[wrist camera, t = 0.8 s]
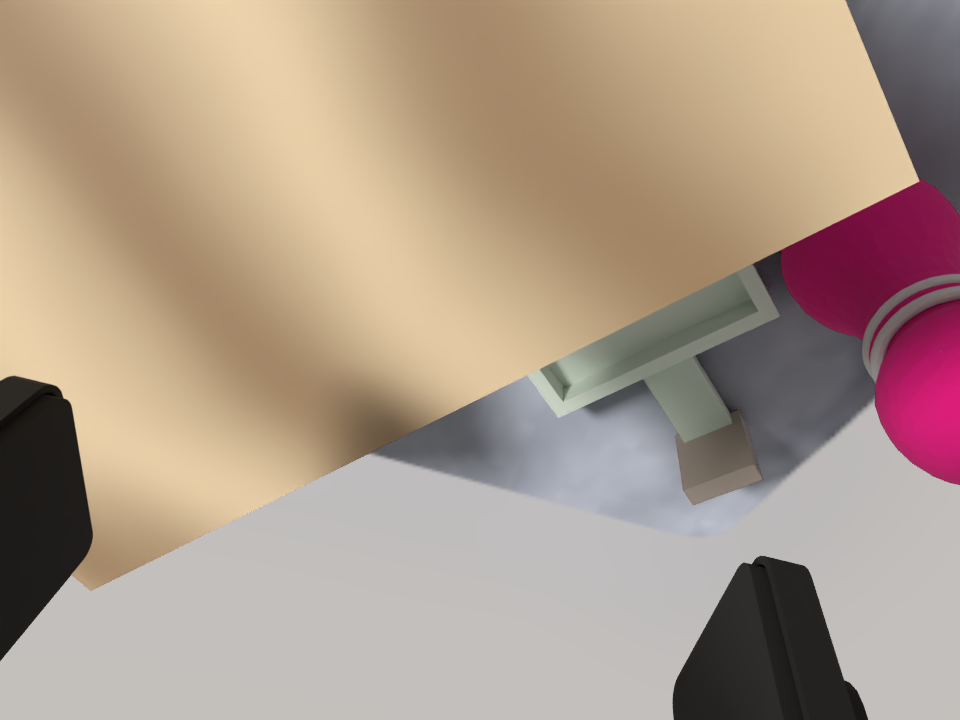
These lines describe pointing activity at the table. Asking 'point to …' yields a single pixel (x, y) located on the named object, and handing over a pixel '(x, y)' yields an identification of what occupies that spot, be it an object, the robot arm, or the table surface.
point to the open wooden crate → (382, 213)
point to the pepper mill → (895, 313)
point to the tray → (676, 378)
